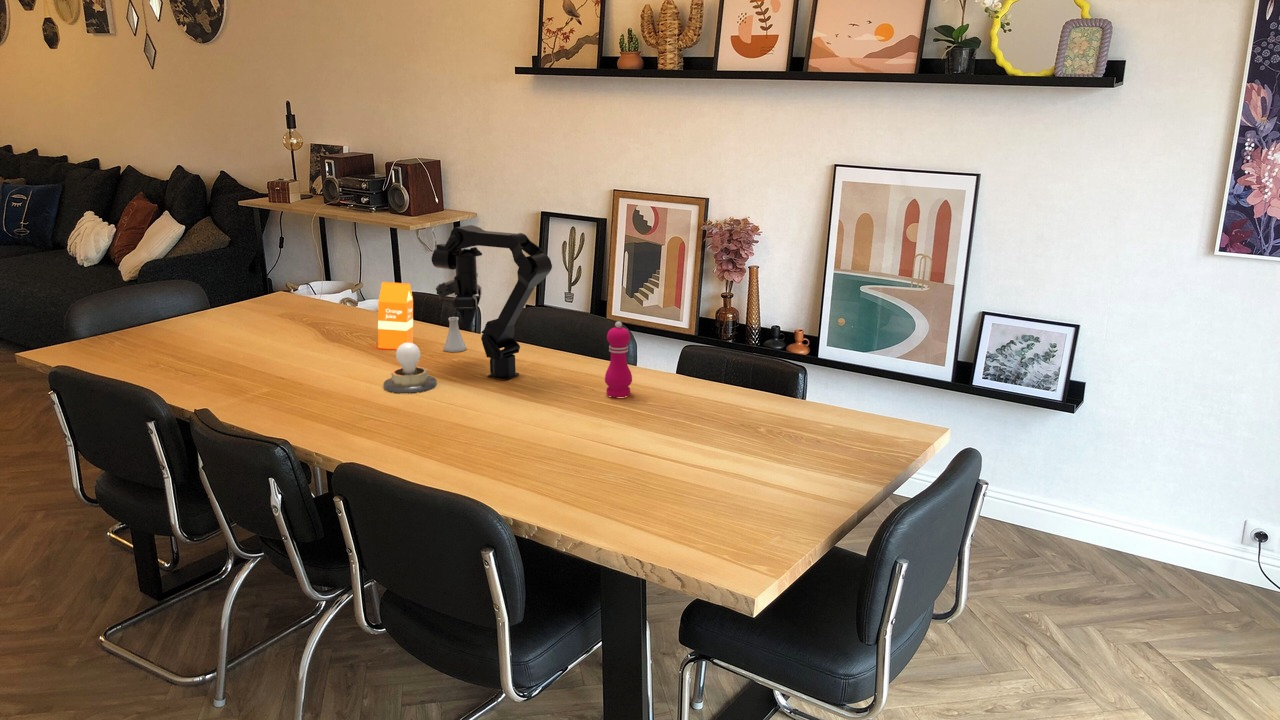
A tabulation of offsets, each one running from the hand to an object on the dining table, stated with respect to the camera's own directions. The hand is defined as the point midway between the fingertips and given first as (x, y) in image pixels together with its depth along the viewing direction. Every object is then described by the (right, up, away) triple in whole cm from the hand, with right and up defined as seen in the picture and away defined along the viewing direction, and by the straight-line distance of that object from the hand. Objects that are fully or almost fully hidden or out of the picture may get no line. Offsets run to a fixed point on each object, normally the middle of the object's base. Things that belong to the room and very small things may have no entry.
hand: (469, 325), depth 265 cm
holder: (-14, -17, -11) cm, 24 cm away
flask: (-9, -7, +24) cm, 26 cm away
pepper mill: (+43, -19, -17) cm, 50 cm away
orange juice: (-28, -6, +27) cm, 39 cm away
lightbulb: (-14, -16, -12) cm, 24 cm away
